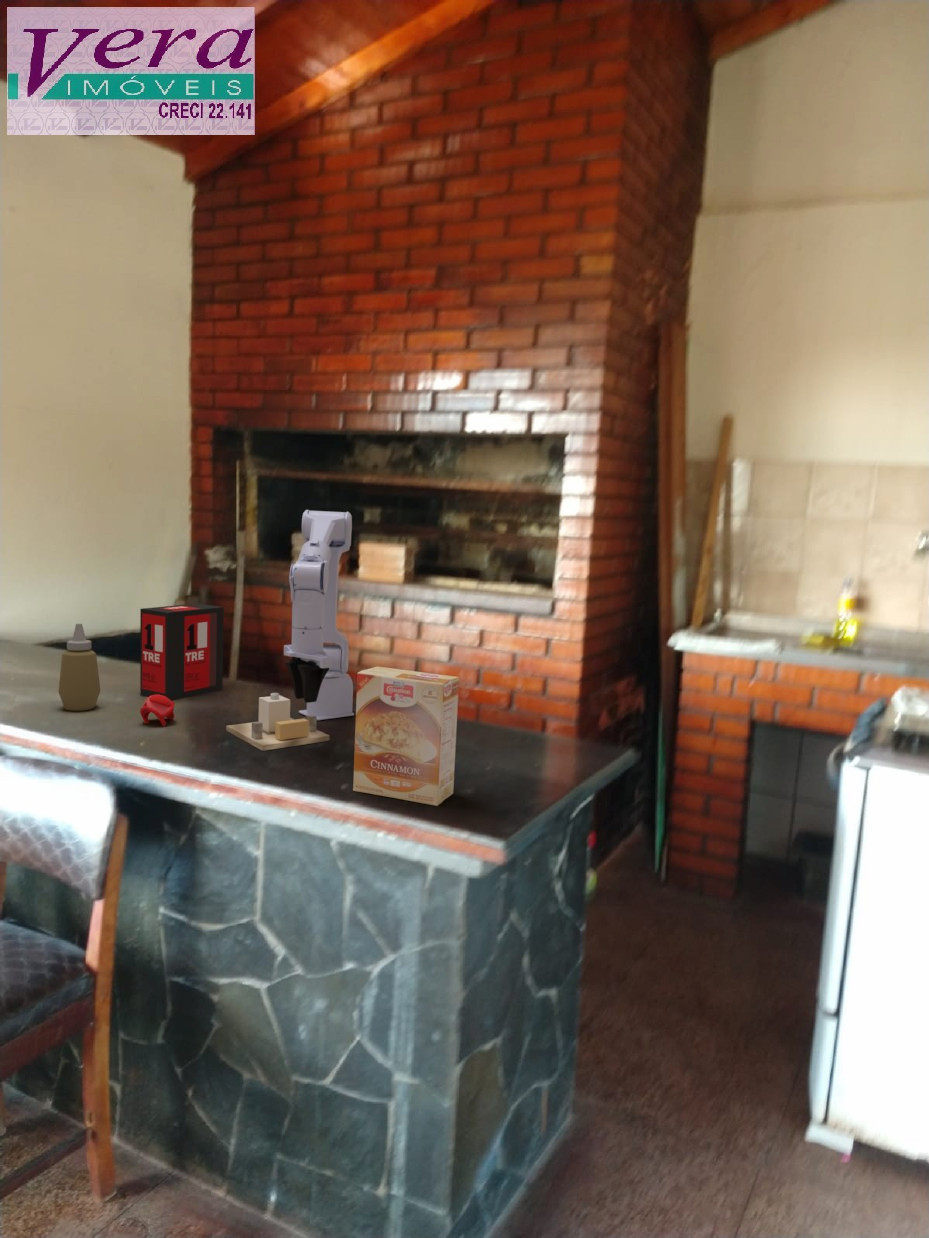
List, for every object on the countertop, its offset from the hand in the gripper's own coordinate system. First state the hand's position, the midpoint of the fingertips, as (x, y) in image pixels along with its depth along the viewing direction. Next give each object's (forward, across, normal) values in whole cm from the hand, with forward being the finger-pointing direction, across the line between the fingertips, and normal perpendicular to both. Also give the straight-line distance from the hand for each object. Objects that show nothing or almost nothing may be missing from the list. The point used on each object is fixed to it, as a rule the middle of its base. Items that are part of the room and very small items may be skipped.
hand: (305, 700), depth 157 cm
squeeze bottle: (+10, -50, -26) cm, 57 cm away
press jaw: (+8, -5, 0) cm, 10 cm away
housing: (+8, -12, 0) cm, 15 cm away
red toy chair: (+10, -31, -16) cm, 36 cm away
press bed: (+9, -11, 0) cm, 14 cm away
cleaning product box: (+10, -55, -2) cm, 56 cm away
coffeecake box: (+10, +29, +2) cm, 31 cm away
